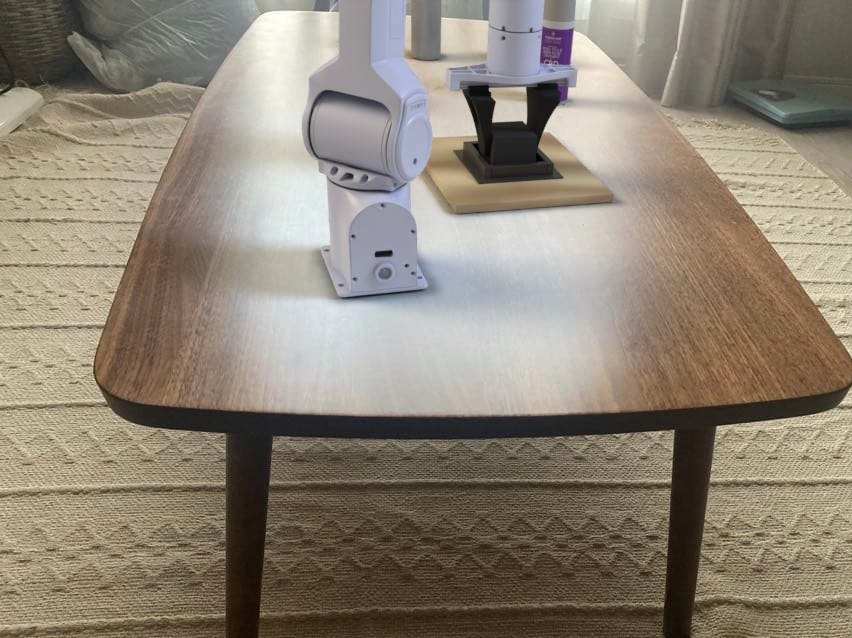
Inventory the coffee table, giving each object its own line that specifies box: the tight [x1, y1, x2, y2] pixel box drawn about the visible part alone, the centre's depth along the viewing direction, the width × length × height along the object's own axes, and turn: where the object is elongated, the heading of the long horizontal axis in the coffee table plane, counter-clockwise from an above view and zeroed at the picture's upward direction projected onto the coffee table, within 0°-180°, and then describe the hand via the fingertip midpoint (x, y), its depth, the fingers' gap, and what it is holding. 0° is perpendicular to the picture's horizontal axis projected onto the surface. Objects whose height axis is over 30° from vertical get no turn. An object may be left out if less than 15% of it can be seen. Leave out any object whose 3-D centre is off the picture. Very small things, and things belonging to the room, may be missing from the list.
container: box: [540, 0, 577, 107], centre depth 127 cm, size 5×5×15 cm
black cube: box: [480, 120, 537, 165], centre depth 106 cm, size 5×5×4 cm
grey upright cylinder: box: [410, 0, 443, 61], centre depth 142 cm, size 4×4×10 cm
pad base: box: [424, 131, 614, 215], centre depth 107 cm, size 20×18×2 cm
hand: (508, 151), depth 106 cm, fingers closed on black cube, 5 cm apart
